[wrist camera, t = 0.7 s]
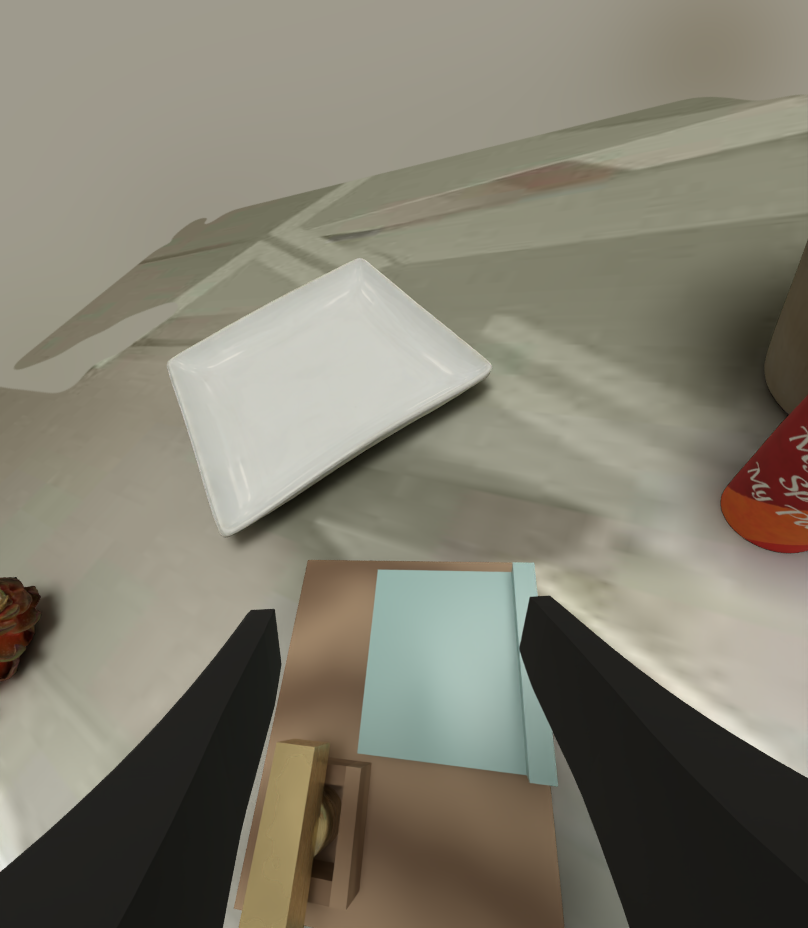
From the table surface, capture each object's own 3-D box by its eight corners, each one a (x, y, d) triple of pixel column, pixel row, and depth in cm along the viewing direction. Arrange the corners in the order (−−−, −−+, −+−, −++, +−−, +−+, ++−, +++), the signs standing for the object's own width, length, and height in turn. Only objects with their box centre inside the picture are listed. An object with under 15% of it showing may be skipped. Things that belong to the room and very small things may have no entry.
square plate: (184, 381, 47) (161, 358, 43) (368, 280, 50) (360, 252, 47) (242, 554, 32) (214, 538, 29) (498, 393, 35) (498, 362, 32)
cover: (549, 774, 19) (558, 786, 16) (363, 750, 21) (344, 758, 19) (529, 577, 24) (534, 562, 22) (382, 574, 26) (369, 560, 24)
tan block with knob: (331, 915, 18) (282, 980, 14) (286, 905, 19) (226, 965, 14) (352, 738, 22) (318, 747, 18) (314, 733, 22) (273, 741, 18)
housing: (564, 967, 17) (579, 1024, 14) (249, 895, 20) (208, 928, 17) (526, 569, 26) (530, 553, 23) (315, 565, 29) (296, 551, 27)
